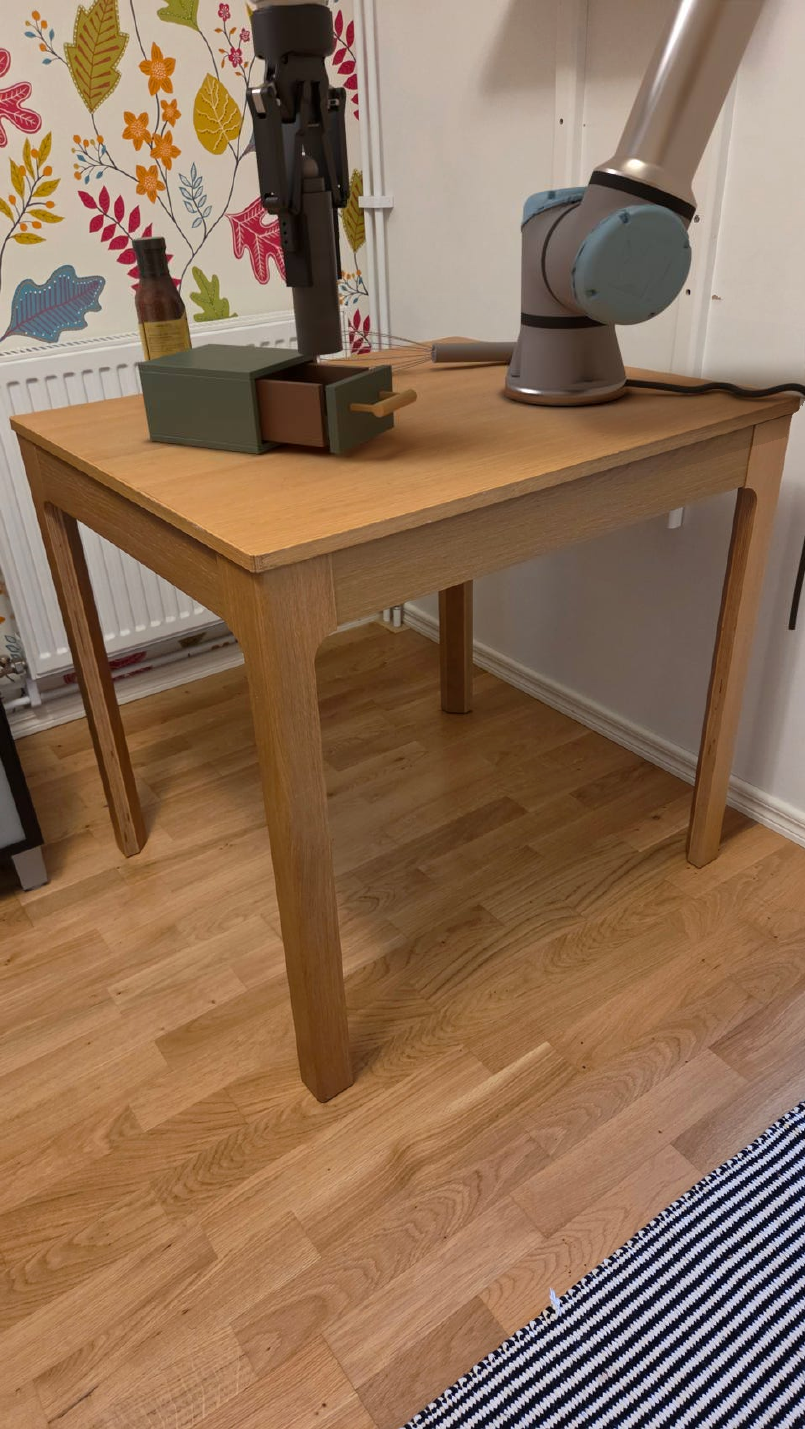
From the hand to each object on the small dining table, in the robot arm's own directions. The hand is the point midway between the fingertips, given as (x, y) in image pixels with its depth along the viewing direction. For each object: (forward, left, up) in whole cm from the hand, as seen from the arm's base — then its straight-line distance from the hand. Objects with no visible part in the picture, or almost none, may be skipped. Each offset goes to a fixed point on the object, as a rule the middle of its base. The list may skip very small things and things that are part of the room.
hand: (314, 282), depth 102 cm
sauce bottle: (+30, -10, -17) cm, 36 cm away
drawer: (0, 0, -16) cm, 16 cm away
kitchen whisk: (+8, -40, -17) cm, 44 cm away
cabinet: (+12, 0, -17) cm, 21 cm away
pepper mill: (0, 0, -7) cm, 7 cm away
